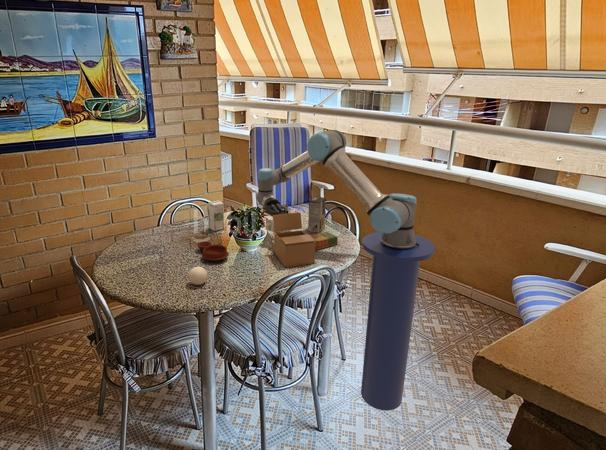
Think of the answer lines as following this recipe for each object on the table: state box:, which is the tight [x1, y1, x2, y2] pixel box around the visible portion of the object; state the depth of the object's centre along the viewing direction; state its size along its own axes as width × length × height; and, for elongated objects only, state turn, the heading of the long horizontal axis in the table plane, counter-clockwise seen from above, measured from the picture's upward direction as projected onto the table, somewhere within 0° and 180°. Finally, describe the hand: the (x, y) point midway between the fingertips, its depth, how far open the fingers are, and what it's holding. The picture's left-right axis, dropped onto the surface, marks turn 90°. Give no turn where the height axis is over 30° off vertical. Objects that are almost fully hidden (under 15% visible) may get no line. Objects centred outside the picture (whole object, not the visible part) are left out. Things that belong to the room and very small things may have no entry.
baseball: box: [188, 266, 209, 286], centre depth 155 cm, size 7×7×7 cm
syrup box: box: [207, 200, 225, 232], centre depth 210 cm, size 6×6×14 cm
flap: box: [272, 212, 303, 233], centre depth 180 cm, size 7×13×1 cm
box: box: [273, 229, 316, 268], centre depth 175 cm, size 15×13×10 cm
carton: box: [310, 231, 339, 251], centre depth 189 cm, size 8×16×4 cm, turn 121°
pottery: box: [196, 241, 230, 263], centre depth 180 cm, size 12×20×4 cm, turn 32°
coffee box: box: [307, 195, 327, 234], centre depth 207 cm, size 9×6×16 cm
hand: (286, 219), depth 181 cm, fingers closed
